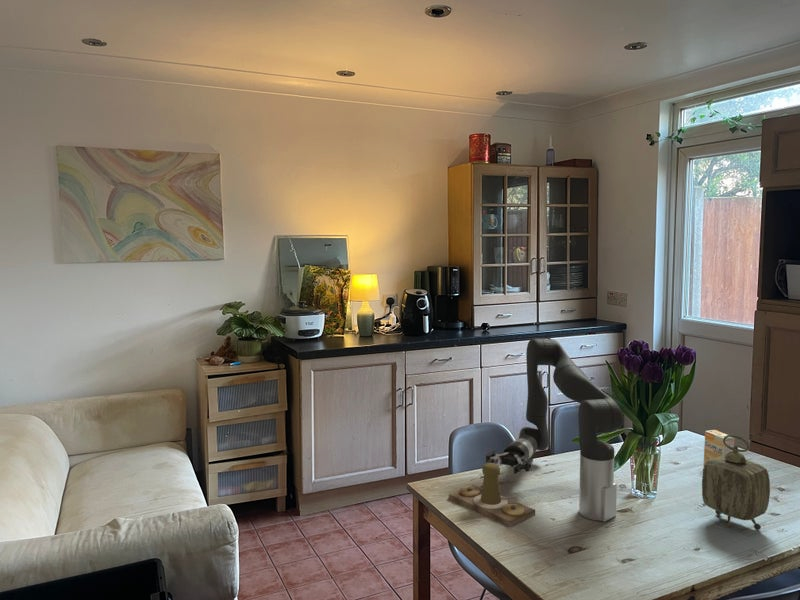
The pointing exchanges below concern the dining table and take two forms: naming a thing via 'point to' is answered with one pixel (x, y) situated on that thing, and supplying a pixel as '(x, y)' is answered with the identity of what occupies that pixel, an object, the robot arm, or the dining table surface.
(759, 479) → the tabletop clock
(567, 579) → the dining table surface
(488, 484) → the cork
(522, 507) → the board
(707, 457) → the supplement box
